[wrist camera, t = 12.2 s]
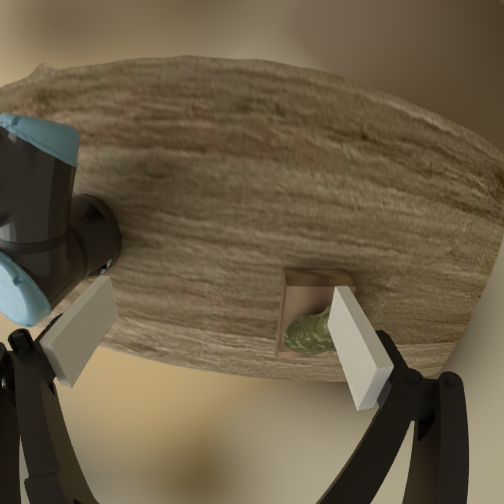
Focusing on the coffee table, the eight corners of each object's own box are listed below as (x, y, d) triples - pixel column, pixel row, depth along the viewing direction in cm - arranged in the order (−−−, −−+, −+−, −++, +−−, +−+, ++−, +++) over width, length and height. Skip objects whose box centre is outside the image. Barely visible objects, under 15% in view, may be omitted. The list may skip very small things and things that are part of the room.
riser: (275, 346, 52) (277, 367, 47) (283, 269, 46) (287, 286, 40) (328, 345, 52) (335, 365, 47) (345, 270, 46) (356, 286, 41)
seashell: (276, 355, 43) (304, 355, 34) (277, 312, 46) (304, 302, 37) (329, 354, 46) (364, 352, 37) (328, 314, 49) (362, 305, 40)
